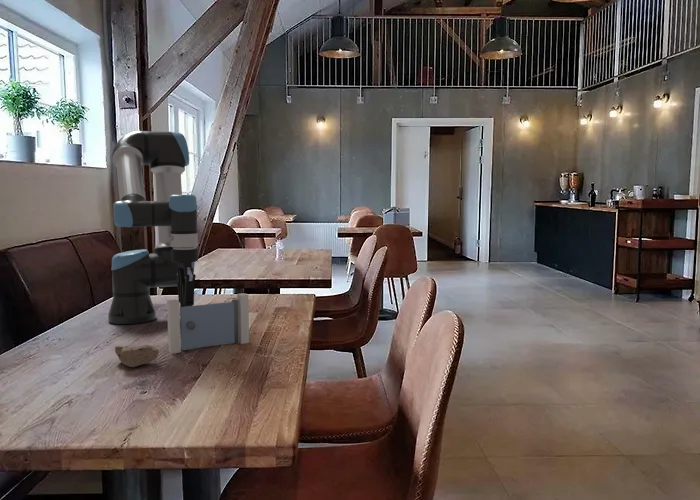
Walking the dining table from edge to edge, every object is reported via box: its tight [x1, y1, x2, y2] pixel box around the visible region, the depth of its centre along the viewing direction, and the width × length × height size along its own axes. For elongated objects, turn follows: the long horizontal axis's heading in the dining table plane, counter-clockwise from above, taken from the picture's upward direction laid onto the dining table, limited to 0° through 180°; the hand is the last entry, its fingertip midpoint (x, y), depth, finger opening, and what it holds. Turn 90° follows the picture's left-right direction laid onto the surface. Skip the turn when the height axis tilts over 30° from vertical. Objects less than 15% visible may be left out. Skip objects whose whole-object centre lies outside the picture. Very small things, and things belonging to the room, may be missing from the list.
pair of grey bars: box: [166, 292, 250, 355], centre depth 161 cm, size 3×22×14 cm, turn 120°
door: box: [179, 298, 240, 351], centre depth 160 cm, size 3×16×13 cm, turn 120°
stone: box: [114, 344, 160, 368], centre depth 145 cm, size 9×12×5 cm
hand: (186, 328), depth 168 cm, fingers closed
